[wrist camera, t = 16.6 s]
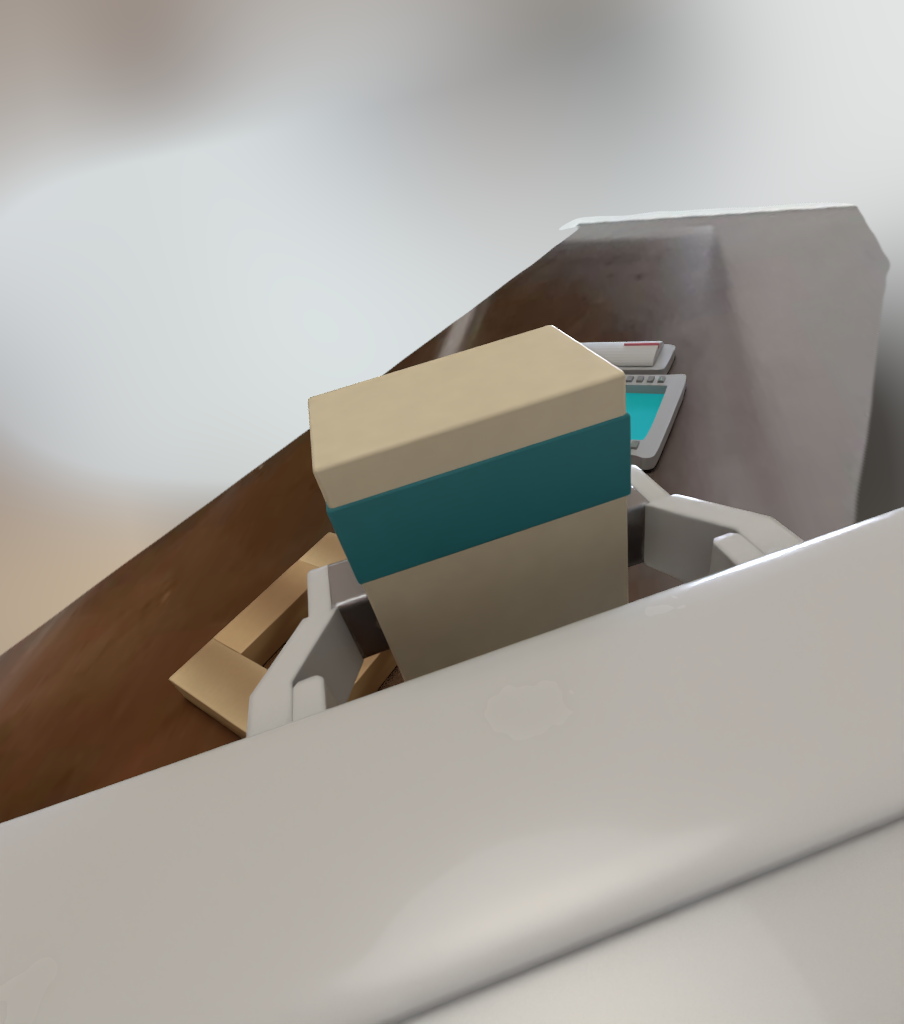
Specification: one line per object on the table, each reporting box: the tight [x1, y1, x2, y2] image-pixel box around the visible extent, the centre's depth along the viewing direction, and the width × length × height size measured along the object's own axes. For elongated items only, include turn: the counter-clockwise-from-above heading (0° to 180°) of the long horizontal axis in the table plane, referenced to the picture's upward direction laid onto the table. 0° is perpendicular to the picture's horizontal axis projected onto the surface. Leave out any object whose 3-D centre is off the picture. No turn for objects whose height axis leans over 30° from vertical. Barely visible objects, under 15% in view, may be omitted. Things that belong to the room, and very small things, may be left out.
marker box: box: [308, 325, 631, 682], centre depth 13 cm, size 6×3×10 cm, turn 104°
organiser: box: [169, 532, 397, 739], centre depth 33 cm, size 14×11×2 cm
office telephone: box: [581, 341, 686, 470], centre depth 51 cm, size 23×3×20 cm
